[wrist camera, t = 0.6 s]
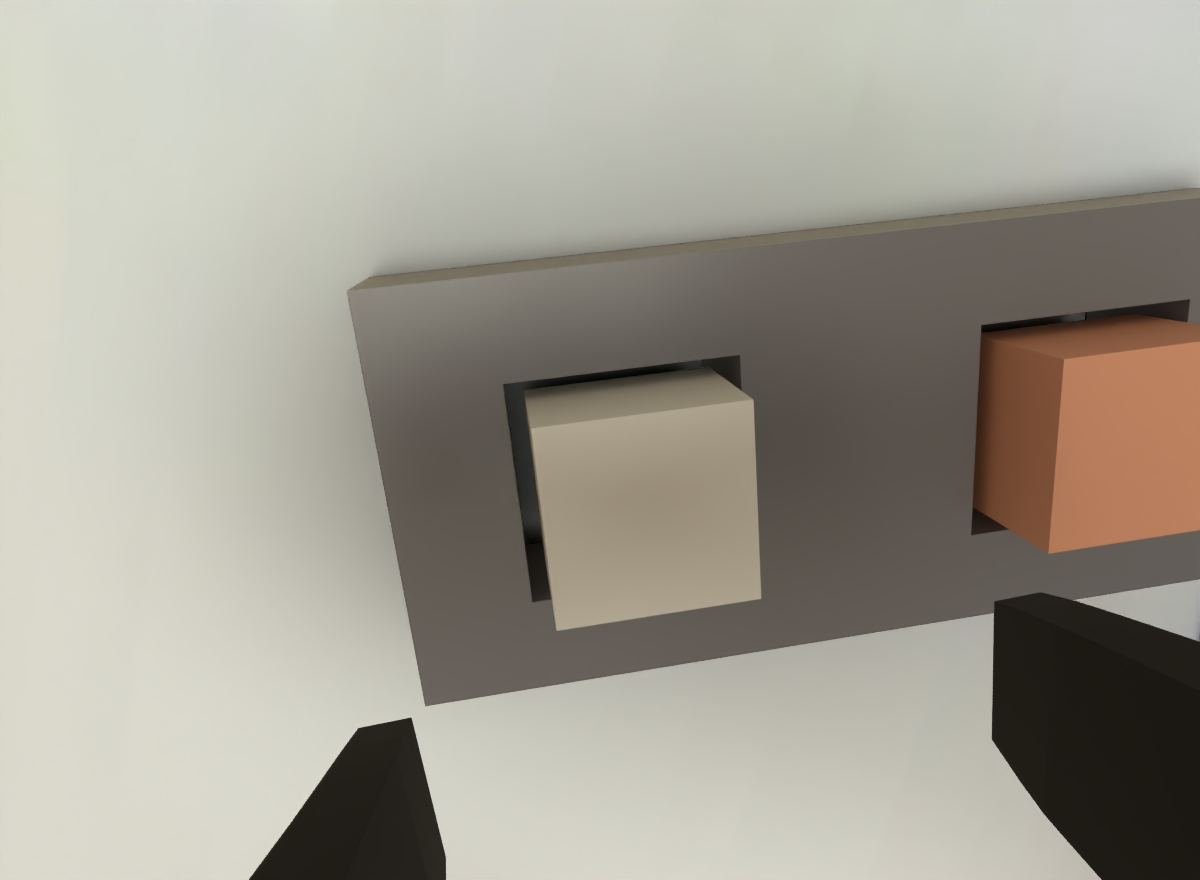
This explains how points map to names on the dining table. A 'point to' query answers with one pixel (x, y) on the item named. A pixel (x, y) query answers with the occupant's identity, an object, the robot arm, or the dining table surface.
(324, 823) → the robot arm
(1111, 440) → the terracotta key
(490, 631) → the key block
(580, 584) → the beige key
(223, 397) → the dining table surface
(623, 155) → the dining table surface
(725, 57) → the dining table surface
